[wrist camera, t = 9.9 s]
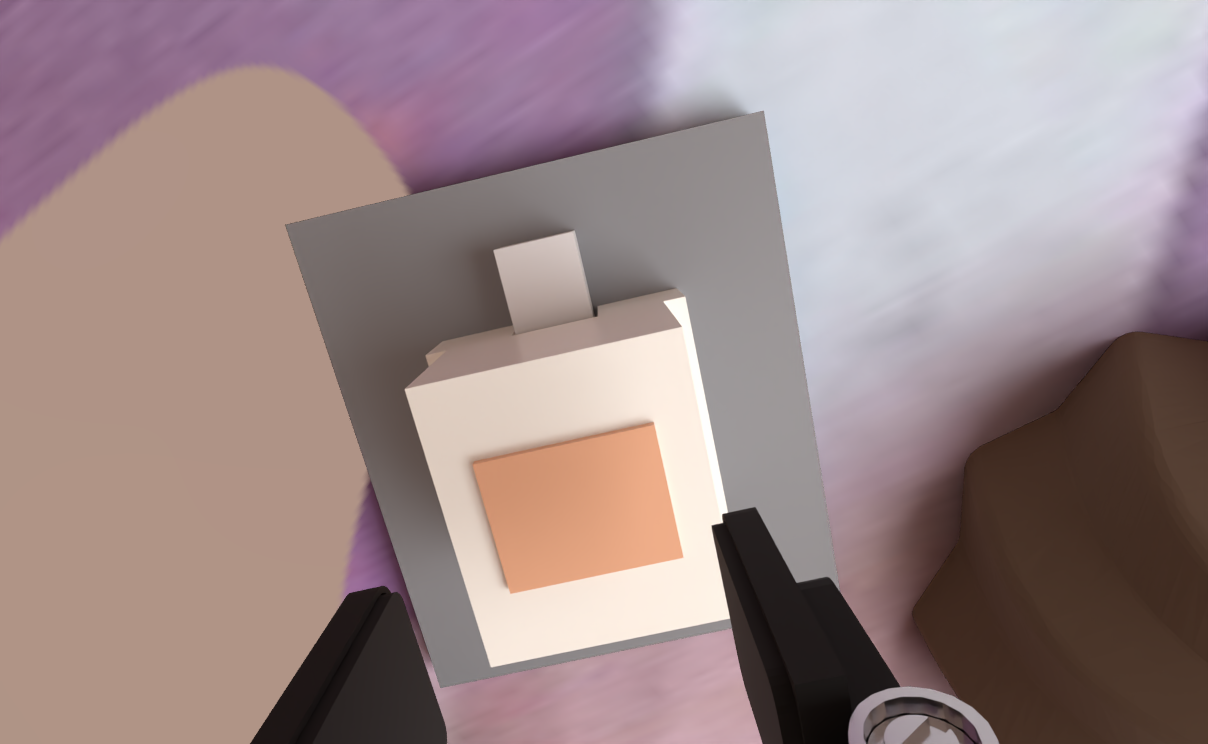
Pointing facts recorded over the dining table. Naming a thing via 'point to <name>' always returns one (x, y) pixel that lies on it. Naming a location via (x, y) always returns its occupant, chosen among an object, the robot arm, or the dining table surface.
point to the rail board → (628, 257)
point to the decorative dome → (1087, 561)
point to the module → (577, 477)
